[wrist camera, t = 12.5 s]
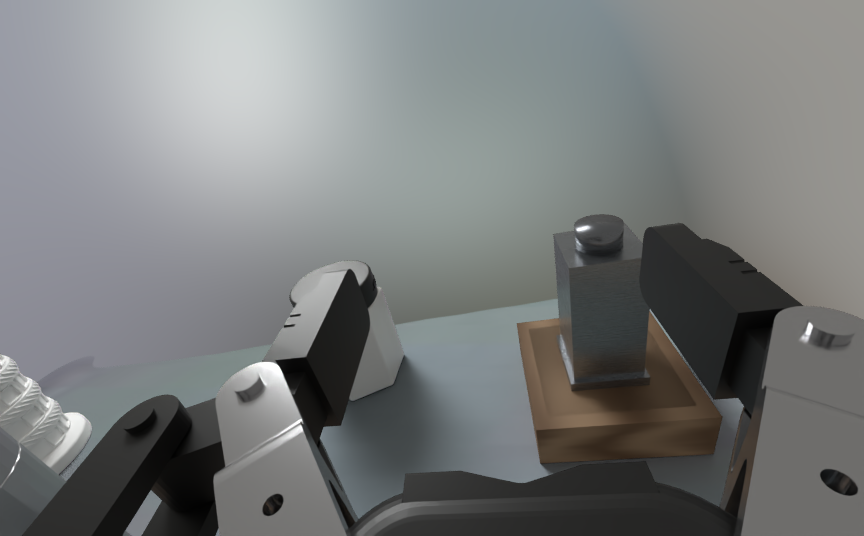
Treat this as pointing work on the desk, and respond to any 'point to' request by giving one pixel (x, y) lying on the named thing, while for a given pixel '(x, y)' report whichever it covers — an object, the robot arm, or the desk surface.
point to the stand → (615, 405)
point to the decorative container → (39, 419)
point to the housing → (601, 305)
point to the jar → (382, 339)
